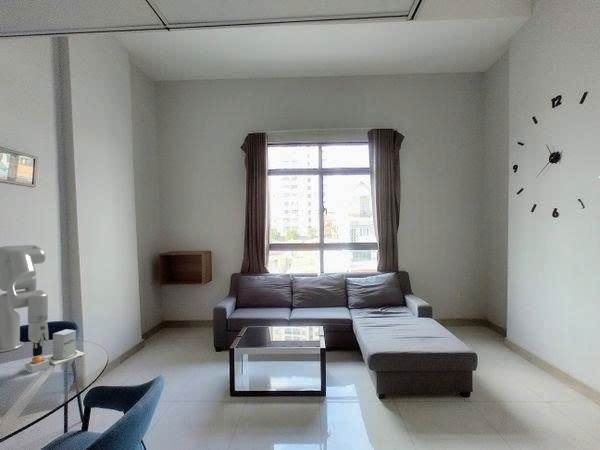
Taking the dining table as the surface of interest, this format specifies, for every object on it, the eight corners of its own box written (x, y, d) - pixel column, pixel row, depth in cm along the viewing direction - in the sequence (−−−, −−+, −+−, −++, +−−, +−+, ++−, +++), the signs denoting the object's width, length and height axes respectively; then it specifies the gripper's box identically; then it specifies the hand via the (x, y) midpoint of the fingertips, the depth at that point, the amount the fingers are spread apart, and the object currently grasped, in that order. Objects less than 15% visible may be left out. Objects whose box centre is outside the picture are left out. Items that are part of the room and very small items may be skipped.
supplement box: (62, 358, 160) (63, 334, 160) (52, 356, 162) (52, 333, 162) (76, 352, 167) (76, 330, 167) (65, 351, 169) (66, 328, 169)
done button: (30, 364, 151) (30, 358, 151) (40, 360, 154) (40, 355, 154) (34, 366, 149) (34, 360, 149) (44, 362, 152) (44, 356, 152)
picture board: (42, 359, 162) (42, 357, 162) (72, 349, 174) (72, 347, 174) (55, 365, 155) (55, 363, 155) (85, 355, 167) (85, 353, 167)
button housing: (25, 369, 150) (25, 362, 150) (42, 363, 156) (42, 357, 156) (31, 373, 147) (31, 366, 147) (49, 367, 153) (49, 360, 153)
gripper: (54, 318, 151) (53, 355, 151) (39, 314, 158) (39, 349, 158) (35, 323, 144) (35, 361, 145) (21, 318, 152) (21, 354, 152)
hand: (37, 355), depth 151 cm, fingers closed
